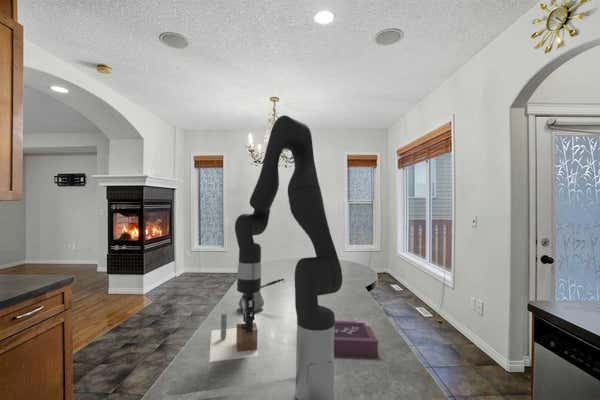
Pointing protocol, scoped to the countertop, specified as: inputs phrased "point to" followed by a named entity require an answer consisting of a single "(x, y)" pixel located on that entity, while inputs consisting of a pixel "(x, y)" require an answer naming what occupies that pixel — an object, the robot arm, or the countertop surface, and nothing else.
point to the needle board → (226, 344)
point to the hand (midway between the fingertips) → (247, 326)
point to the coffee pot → (259, 297)
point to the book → (354, 338)
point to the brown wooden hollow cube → (246, 338)
